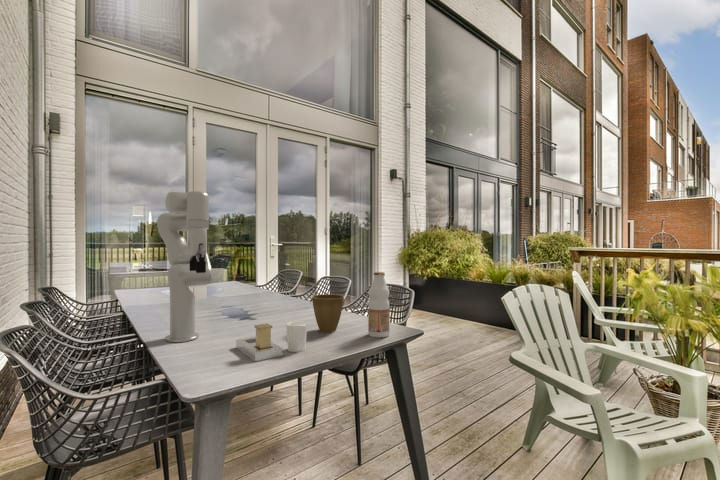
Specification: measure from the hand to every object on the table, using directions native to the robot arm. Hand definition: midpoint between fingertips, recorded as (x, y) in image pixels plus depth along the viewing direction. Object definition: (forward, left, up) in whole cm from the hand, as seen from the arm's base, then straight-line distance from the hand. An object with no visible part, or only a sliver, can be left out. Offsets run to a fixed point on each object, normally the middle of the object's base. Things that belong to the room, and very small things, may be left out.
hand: (197, 271), depth 133 cm
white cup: (+17, +32, -31) cm, 47 cm away
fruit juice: (+20, +71, -31) cm, 80 cm away
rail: (+11, +19, -30) cm, 37 cm away
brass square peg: (+16, +19, -30) cm, 39 cm away
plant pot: (0, +57, -31) cm, 65 cm away
